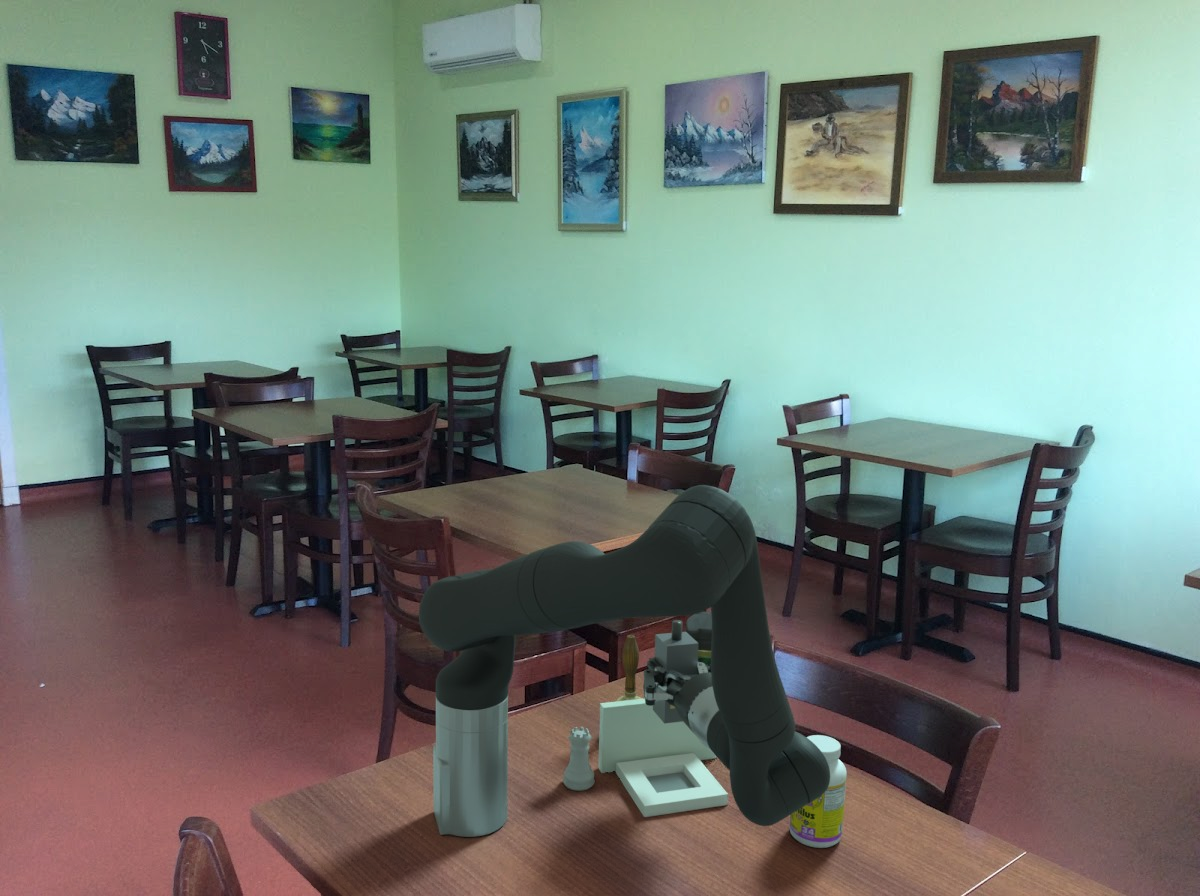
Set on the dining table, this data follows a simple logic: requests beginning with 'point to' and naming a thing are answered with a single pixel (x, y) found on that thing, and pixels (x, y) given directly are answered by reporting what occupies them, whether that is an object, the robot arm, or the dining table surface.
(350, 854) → the dining table surface
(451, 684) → the robot arm
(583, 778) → the rook chess piece
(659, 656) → the plug
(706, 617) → the coffee jar
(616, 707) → the socket
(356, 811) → the dining table surface
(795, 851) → the dining table surface
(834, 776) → the supplement bottle
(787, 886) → the dining table surface
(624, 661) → the hand bell
